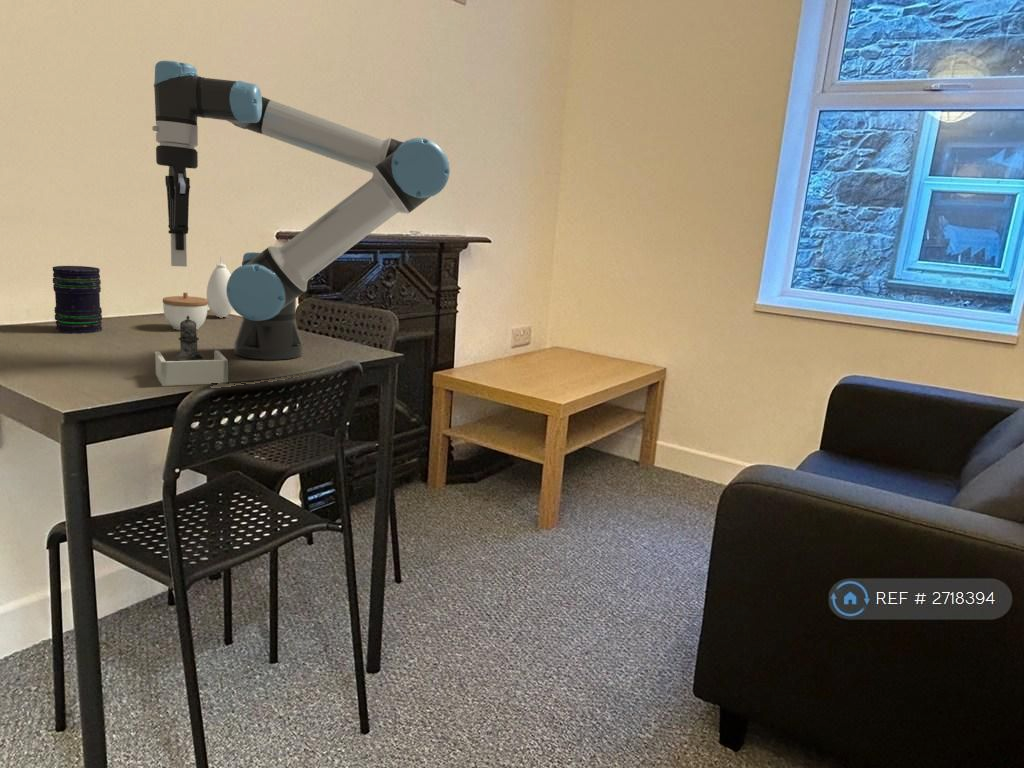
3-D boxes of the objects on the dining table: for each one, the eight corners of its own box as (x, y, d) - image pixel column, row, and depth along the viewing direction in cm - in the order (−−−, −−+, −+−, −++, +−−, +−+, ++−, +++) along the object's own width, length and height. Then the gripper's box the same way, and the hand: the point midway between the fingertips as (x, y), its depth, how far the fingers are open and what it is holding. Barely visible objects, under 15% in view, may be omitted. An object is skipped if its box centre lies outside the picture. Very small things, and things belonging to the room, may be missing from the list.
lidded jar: (164, 324, 191) (163, 289, 189) (207, 325, 196) (207, 290, 193) (162, 331, 182) (161, 294, 180) (208, 332, 186) (208, 296, 184)
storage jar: (52, 333, 169) (48, 269, 165) (58, 325, 177) (55, 264, 174) (100, 334, 173) (98, 271, 169) (104, 326, 181) (102, 267, 178)
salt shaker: (174, 371, 145) (172, 312, 142) (206, 371, 147) (204, 313, 144) (172, 378, 140) (170, 317, 137) (205, 378, 142) (204, 318, 139)
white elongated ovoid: (204, 319, 204) (204, 254, 200) (208, 314, 212) (208, 252, 207) (234, 320, 206) (234, 257, 202) (237, 316, 214) (237, 254, 210)
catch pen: (218, 371, 148) (218, 350, 147) (227, 383, 140) (228, 360, 139) (155, 374, 142) (155, 351, 141) (162, 386, 134) (161, 362, 133)
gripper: (151, 144, 146) (154, 261, 152) (160, 143, 136) (163, 268, 141) (191, 149, 150) (192, 263, 156) (203, 148, 140) (204, 270, 145)
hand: (178, 265), depth 149 cm, fingers closed
